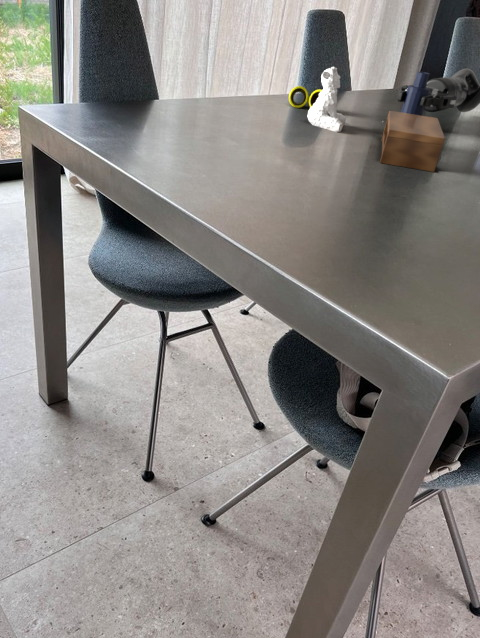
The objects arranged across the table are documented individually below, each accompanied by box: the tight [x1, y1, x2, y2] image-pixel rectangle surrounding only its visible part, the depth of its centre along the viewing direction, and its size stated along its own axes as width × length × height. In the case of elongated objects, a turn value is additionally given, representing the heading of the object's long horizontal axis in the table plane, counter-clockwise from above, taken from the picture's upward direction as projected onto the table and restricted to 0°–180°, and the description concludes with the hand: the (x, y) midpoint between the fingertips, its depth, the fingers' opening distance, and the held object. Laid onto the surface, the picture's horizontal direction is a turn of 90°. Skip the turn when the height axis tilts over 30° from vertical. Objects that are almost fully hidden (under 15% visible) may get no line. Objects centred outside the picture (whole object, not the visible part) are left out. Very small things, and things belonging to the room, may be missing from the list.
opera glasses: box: [288, 85, 323, 109], centre depth 143 cm, size 10×5×5 cm, turn 69°
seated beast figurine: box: [306, 66, 347, 133], centre depth 126 cm, size 10×9×12 cm
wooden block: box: [379, 110, 446, 173], centre depth 113 cm, size 10×20×6 cm, turn 164°
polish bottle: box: [400, 71, 431, 116], centre depth 133 cm, size 5×5×12 cm
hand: (411, 99), depth 131 cm, fingers closed on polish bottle, 5 cm apart
